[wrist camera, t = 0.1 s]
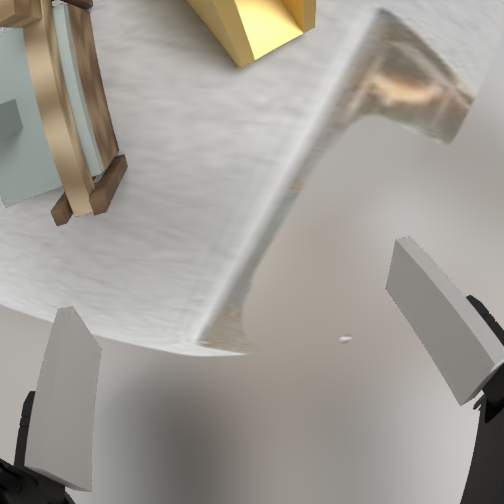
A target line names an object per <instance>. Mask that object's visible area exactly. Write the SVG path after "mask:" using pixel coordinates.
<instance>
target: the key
mask: <svg viewBox="0 0 504 504" xmlns="http://www.w3.org/2000/svg"><path fill="white" fill-rule="evenodd" d="M0 27H13V28H23V35H24V42H25V48H26V54H27V60H28V65H29V70H30V75H31V80H32V84H33V89H34V93H35V97H36V101H37V105H38V109H39V113H40V117H41V120H42V124H43V127H44V131H45V134H46V137H47V141H48V144H49V147H50V150H51V153H52V156H53V159H54V162H55V165H56V168H57V171H58V174H59V177H60V179H61V182H62V185H63V188H64V190H65V193H66V195H67V198H68V201H69V203H70V206H71V208H72V211H73V213H74V215H75V217H78V216H81V215H84V214H88V213H91V212H93V210H92V208H91V205H90V202H89V198H90V196H91V195H92V193H93V191H94V190H95V186H94V183H93V180H92V177H91V174H90V171H89V168H88V165H87V162H86V158H85V155H84V152H83V149H82V145H81V142H80V139H79V135H78V132H77V128H76V125H75V121H74V117H73V113H72V110H71V106H70V102H69V97H68V93H67V89H66V85H65V80H64V76H63V71H62V66H61V61H60V56H59V50H58V44H57V38H56V32H55V25H54V18H53V10H52V1H51V0H0Z"/></svg>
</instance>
